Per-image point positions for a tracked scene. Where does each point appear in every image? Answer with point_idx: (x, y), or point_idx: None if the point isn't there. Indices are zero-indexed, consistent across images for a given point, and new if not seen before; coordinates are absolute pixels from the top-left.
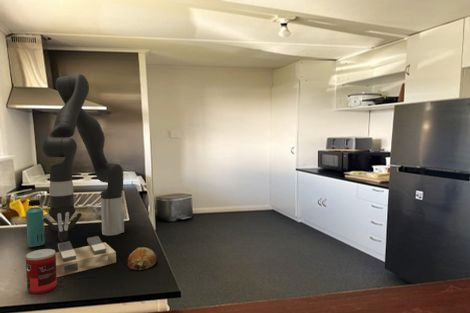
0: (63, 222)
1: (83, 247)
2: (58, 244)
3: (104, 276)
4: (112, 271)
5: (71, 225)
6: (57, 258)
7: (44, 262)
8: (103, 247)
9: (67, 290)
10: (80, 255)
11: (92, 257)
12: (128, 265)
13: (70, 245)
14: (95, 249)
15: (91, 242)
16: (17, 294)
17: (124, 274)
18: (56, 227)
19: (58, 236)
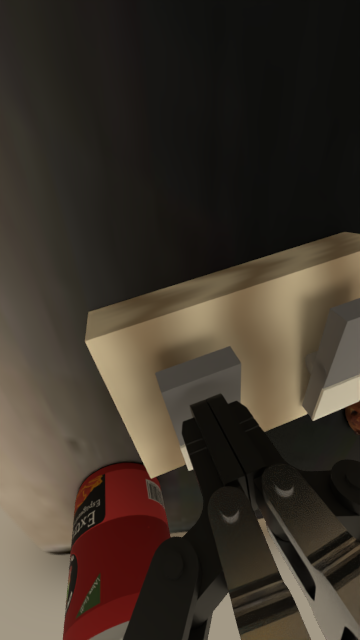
0: (324, 593)
1: (281, 288)
2: (167, 400)
3: (277, 443)
4: (303, 420)
5: (358, 535)
6: (154, 412)
7: None
8: (354, 398)
9: (187, 498)
10: (251, 397)
11: (287, 421)
12: (350, 418)
13: (234, 398)
14: (321, 413)
15: (338, 365)
16: (53, 513)
17: (320, 439)
18: (211, 603)
19: (186, 446)
